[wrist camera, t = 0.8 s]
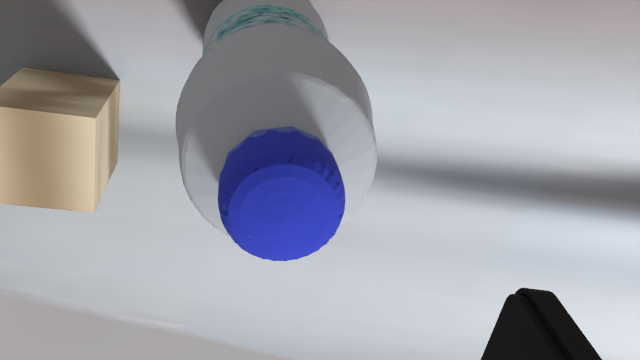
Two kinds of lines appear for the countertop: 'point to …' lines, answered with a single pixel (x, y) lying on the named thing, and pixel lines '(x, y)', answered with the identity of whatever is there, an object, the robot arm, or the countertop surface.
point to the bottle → (274, 129)
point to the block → (57, 139)
